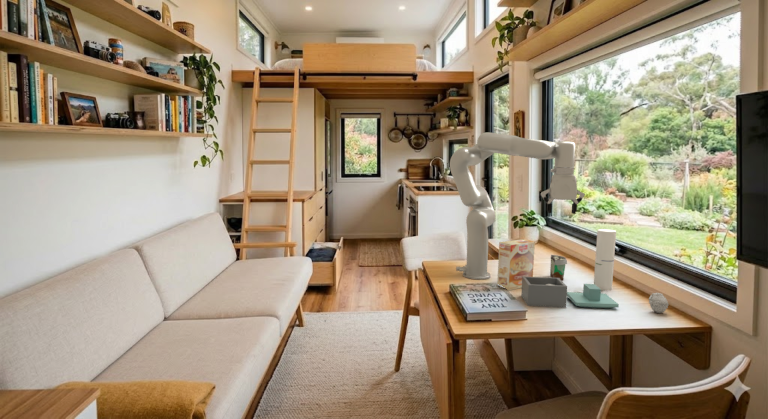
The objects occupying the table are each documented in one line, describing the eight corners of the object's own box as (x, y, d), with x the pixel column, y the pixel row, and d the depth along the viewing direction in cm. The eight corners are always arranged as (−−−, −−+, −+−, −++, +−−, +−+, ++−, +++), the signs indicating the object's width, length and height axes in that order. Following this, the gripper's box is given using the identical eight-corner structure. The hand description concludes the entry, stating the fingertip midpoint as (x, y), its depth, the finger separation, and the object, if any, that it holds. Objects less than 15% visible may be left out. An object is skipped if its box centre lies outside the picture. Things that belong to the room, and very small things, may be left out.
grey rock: (659, 309, 172) (661, 290, 171) (672, 315, 165) (673, 296, 164) (643, 309, 172) (645, 290, 171) (655, 315, 165) (657, 296, 164)
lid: (575, 308, 172) (577, 290, 171) (565, 297, 184) (566, 281, 184) (618, 310, 170) (619, 292, 169) (605, 299, 183) (606, 282, 182)
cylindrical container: (610, 291, 193) (615, 232, 190) (592, 288, 197) (596, 230, 194) (612, 287, 199) (617, 230, 196) (594, 284, 203) (598, 228, 200)
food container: (568, 283, 204) (569, 261, 203) (553, 282, 206) (555, 260, 204) (563, 276, 216) (564, 255, 215) (549, 275, 218) (550, 254, 216)
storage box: (527, 305, 174) (528, 284, 173) (521, 295, 186) (522, 276, 185) (566, 307, 172) (567, 286, 171) (557, 297, 184) (558, 277, 183)
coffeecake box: (509, 290, 192) (511, 244, 190) (496, 286, 198) (498, 241, 196) (533, 285, 200) (535, 241, 198) (520, 281, 206) (522, 238, 204)
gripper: (544, 171, 187) (542, 213, 189) (588, 172, 185) (586, 215, 187) (540, 171, 194) (537, 211, 196) (582, 171, 193) (580, 212, 195)
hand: (561, 213), depth 192 cm, fingers open, 9 cm apart
